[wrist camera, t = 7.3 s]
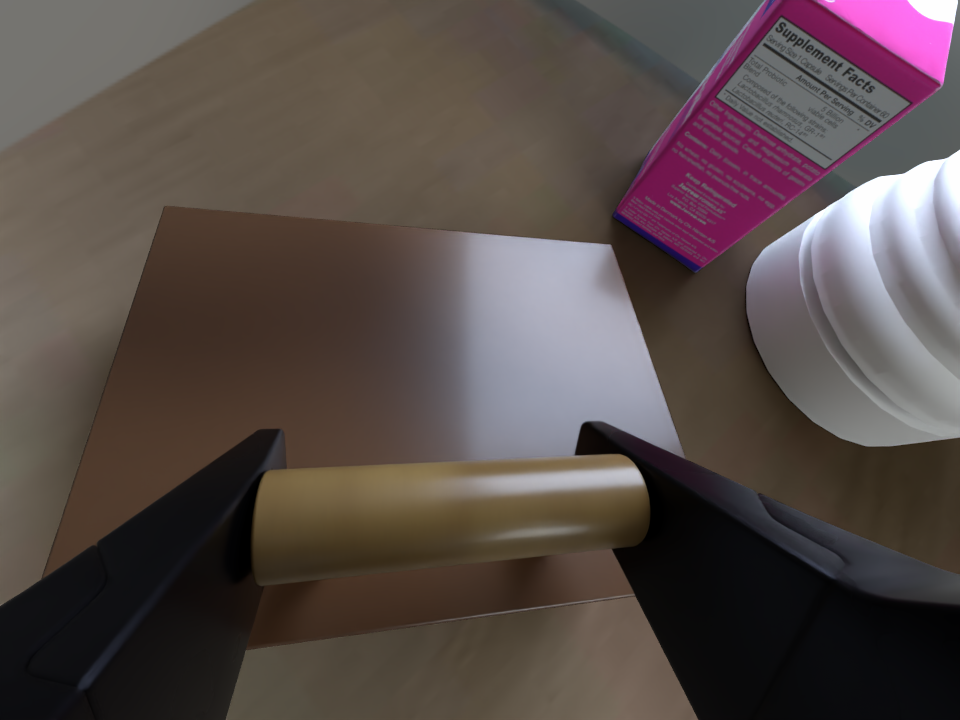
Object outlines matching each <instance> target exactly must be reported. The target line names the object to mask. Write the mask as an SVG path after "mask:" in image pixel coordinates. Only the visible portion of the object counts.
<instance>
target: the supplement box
mask: <svg viewBox="0 0 960 720" xmlns="http://www.w3.org/2000/svg"><path fill="white" fill-rule="evenodd" d="M957 3H958V2H957V0H764V1H763V2H762V3H761V5H760V6H759V8H758V9H757V10H756V11H755V13H754V14H753V15H752V17H751V18H750V19H749V20H748V22H747V23H746V24H745V26H744V27H743V28H742V30H741V31H740V32H739V34H738V35H737V36H736V37H735V39H734V40H733V42H732V43H731V44H730V45H729V47H728V48H727V49H726V50H725V52H724V53H723V54H722V56H721V57H720V58H719V60H718V61H717V62H716V64H715V65H714V67H713V68H712V69H711V71H710V72H709V73H708V75H707V76H706V77H705V78H704V80H703V81H702V82H701V84H700V85H699V86H698V88H697V89H696V90H695V92H694V93H693V94H692V95H691V97H690V98H689V99H688V101H687V102H686V103H685V105H684V106H683V107H682V109H681V110H680V111H679V112H678V114H677V115H676V116H675V118H674V119H673V120H672V122H671V123H670V124H669V126H668V127H667V129H666V130H665V131H664V133H663V134H662V135H661V136H660V138H659V139H658V140H657V142H656V143H655V145H654V146H653V147H652V149H651V150H650V151H649V153H648V154H647V156H646V158H645V160H644V162H643V164H642V166H641V168H640V170H639V172H638V174H637V176H636V177H635V179H634V181H633V182H632V184H631V186H630V187H629V189H628V191H627V192H626V194H625V196H624V197H623V199H622V201H621V202H620V204H619V205H618V207H617V208H616V210H615V211H614V213H613V217H614V218H616V219H617V220H619V221H620V222H622V223H623V224H625V225H626V226H628V227H629V228H631V229H632V230H634V231H635V232H636V233H638V234H639V235H641V236H642V237H644V238H645V239H647V240H648V241H650V242H651V243H653V244H654V245H656V246H657V247H659V248H660V249H662V250H663V251H665V252H666V253H667V254H669V255H670V256H672V257H673V258H675V259H676V260H678V261H679V262H681V263H682V264H683V265H685V266H686V267H687V268H689V269H690V270H692V271H693V272H695V273H697V272H698V271H699V270H701V269H702V268H703V267H704V266H706V265H707V264H708V263H710V262H711V261H712V260H714V259H715V258H716V257H717V256H719V255H720V254H722V253H723V252H724V251H726V250H727V249H728V248H730V247H731V246H732V245H734V244H735V243H736V242H737V241H739V240H740V239H741V238H743V237H744V236H745V235H747V234H748V233H749V232H751V231H752V230H753V229H755V228H756V227H757V226H759V225H760V224H761V223H763V222H764V221H765V220H766V219H768V218H769V217H770V216H772V215H773V214H775V213H776V212H777V211H778V210H780V209H781V208H783V207H784V206H785V205H786V204H788V203H789V202H790V201H792V200H793V199H794V198H796V197H797V196H798V195H800V194H801V193H802V192H804V191H805V190H806V189H807V188H809V187H810V186H812V185H813V184H814V183H816V182H817V181H818V180H820V179H821V178H822V177H824V176H825V175H826V174H828V173H829V172H830V171H832V170H833V169H834V168H836V166H838V165H839V164H841V163H842V162H843V161H845V160H846V159H847V158H849V157H850V156H851V155H853V154H854V153H855V152H857V151H858V150H859V149H861V148H862V147H864V146H865V145H866V144H868V143H869V142H870V141H872V140H873V139H874V138H875V137H877V136H878V135H879V134H881V133H882V132H883V131H885V130H886V129H887V128H889V127H890V126H891V125H893V124H894V123H895V122H896V121H898V120H899V119H901V118H902V117H903V116H904V115H906V114H907V113H909V112H910V111H911V110H913V109H914V108H915V107H917V106H918V105H919V104H921V103H922V102H923V101H925V100H926V99H927V98H928V97H930V96H931V95H932V94H934V93H935V92H936V91H938V90H939V89H940V88H941V87H942V85H943V82H944V76H945V70H946V63H947V58H948V53H949V48H950V42H951V36H952V31H953V25H954V20H955V14H956V8H957Z"/></svg>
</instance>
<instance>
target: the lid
mask: <svg viewBox="0 0 960 720" xmlns="http://www.w3.org/2000/svg"><path fill="white" fill-rule="evenodd" d="M585 421H603V422H605V423H608V424H610V425H612V426H614V427H616V428H618V429H621V430H623V431H625V432H627V433H629V434H632V435H634V436H636V437H638V438H640V439H642V440H645V441H647V442H649V443H651V444H653V445H656V446H658V447H660V448H662V449H664V450H667V451H669V452H671V453H673V454H675V455H677V456H680V457H682V458H684V459H686V456H685V454H684V451H683V448H682V445H681V442H680V439H679V436H678V433H677V431H676V428H675V425H674V422H673V419H672V416H671V413H670V411H669V408H668V405H667V402H666V399H665V396H664V393H663V391H662V388H661V385H660V382H659V379H658V376H657V373H656V370H655V368H654V365H653V362H652V359H651V356H650V353H649V350H648V348H647V345H646V342H645V339H644V336H643V333H642V330H641V327H640V325H639V322H638V319H637V316H636V313H635V310H634V307H633V305H632V302H631V299H630V296H629V293H628V290H627V287H626V285H625V282H624V279H623V276H622V273H621V270H620V267H619V264H618V262H617V259H616V256H615V253H614V250H613V247H612V245H610V244H600V243H588V242H576V241H565V240H553V239H542V238H530V237H519V236H507V235H496V234H484V233H473V232H461V231H450V230H438V229H427V228H415V227H404V226H392V225H381V224H369V223H358V222H346V221H335V220H323V219H312V218H300V217H289V216H277V215H266V214H254V213H243V212H231V211H220V210H208V209H197V208H185V207H174V206H165V207H164V209H163V212H162V215H161V218H160V221H159V224H158V227H157V230H156V233H155V236H154V239H153V242H152V245H151V248H150V251H149V254H148V257H147V260H146V263H145V266H144V269H143V272H142V275H141V279H140V282H139V285H138V288H137V291H136V294H135V297H134V300H133V303H132V306H131V309H130V312H129V315H128V318H127V321H126V324H125V327H124V330H123V333H122V336H121V339H120V342H119V345H118V348H117V351H116V354H115V357H114V360H113V363H112V366H111V369H110V372H109V375H108V378H107V382H106V385H105V388H104V391H103V394H102V397H101V400H100V403H99V406H98V409H97V412H96V415H95V418H94V421H93V424H92V427H91V430H90V433H89V436H88V439H87V442H86V445H85V448H84V451H83V454H82V457H81V460H80V463H79V466H78V469H77V472H76V475H75V478H74V481H73V485H72V488H71V491H70V494H69V497H68V500H67V503H66V506H65V509H64V512H63V515H62V518H61V521H60V524H59V527H58V530H57V533H56V536H55V539H54V542H53V545H52V548H51V551H50V554H49V557H48V560H47V563H46V566H45V569H44V572H43V575H42V578H41V579H43V578H44V577H46V576H47V575H49V574H50V573H52V572H53V571H55V570H56V569H58V568H59V567H61V566H62V565H64V564H65V563H67V562H68V561H70V560H71V559H72V558H74V557H75V556H77V555H78V554H80V553H81V552H83V551H84V550H85V549H87V548H88V547H90V546H92V545H96V543H97V541H99V540H100V539H102V538H103V537H104V536H106V535H107V534H109V533H110V532H112V531H113V530H115V529H116V528H117V527H119V526H120V525H122V524H123V523H125V522H126V521H127V520H129V519H130V518H132V517H133V516H135V515H136V514H138V513H139V512H140V511H142V510H143V509H145V508H146V507H148V506H149V505H151V504H152V503H153V502H155V501H156V500H158V499H159V498H161V497H162V496H164V495H165V494H166V493H168V492H169V491H171V490H172V489H174V488H175V487H176V486H178V485H179V484H181V483H182V482H184V481H185V480H187V479H188V478H189V477H191V476H192V475H194V474H195V473H197V472H198V471H200V470H201V469H202V468H204V467H205V466H207V465H208V464H210V463H211V462H212V461H214V460H215V459H217V458H218V457H220V456H221V455H223V454H224V453H225V452H227V451H228V450H230V449H231V448H233V447H234V446H236V445H237V444H238V443H240V442H241V441H243V440H244V439H246V438H247V437H249V436H250V435H251V434H253V433H254V432H256V431H257V430H259V429H278V428H279V429H282V430H283V432H284V435H285V449H286V463H287V469H276V470H268V471H266V472H265V473H264V475H263V476H262V478H261V481H260V483H259V486H258V489H257V493H256V498H255V502H254V508H253V515H252V523H251V537H250V561H251V570H252V575H253V579H254V582H255V583H256V584H257V585H259V586H264V590H263V593H262V596H261V600H260V603H259V607H258V610H257V614H256V617H255V620H254V624H253V627H252V631H251V634H250V638H249V641H248V644H247V648H246V650H251V649H258V648H266V647H273V646H280V645H287V644H295V643H302V642H309V641H316V640H323V639H331V638H338V637H345V636H352V635H360V634H367V633H374V632H381V631H389V630H396V629H403V628H410V627H417V626H425V625H432V624H439V623H446V622H454V621H461V620H468V619H475V618H482V617H490V616H497V615H504V614H511V613H519V612H526V611H533V610H540V609H547V608H555V607H562V606H569V605H576V604H584V603H591V602H598V601H605V600H612V599H620V598H627V597H634V596H635V594H634V592H633V590H632V588H631V586H630V584H629V582H628V580H627V578H626V576H625V574H624V572H623V570H622V569H621V567H620V565H619V563H618V561H617V559H616V557H615V555H614V553H613V551H612V549H615V548H625V547H633V546H636V545H638V544H639V543H640V542H642V540H643V539H644V538H645V536H646V534H647V532H648V528H649V524H650V500H649V495H648V491H647V487H646V484H645V481H644V479H643V476H642V474H641V473H640V471H639V469H638V468H637V466H636V465H635V464H634V462H632V461H631V460H630V459H629V458H628V457H626V456H624V455H621V454H601V455H580V456H575V449H576V445H577V440H578V436H579V432H580V428H581V425H582V424H583V423H584V422H585ZM686 460H687V459H686ZM96 546H97V545H96Z"/></svg>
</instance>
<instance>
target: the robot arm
mask: <svg viewBox="0 0 960 720" xmlns="http://www.w3.org/2000/svg"><path fill="white" fill-rule="evenodd" d="M601 454H621V455H624V456H626V457H628V458H629V459H630V460H631V461H632V462H634V464H635V465H636V466H637V468H638V469H639V471H640V473H641V474H642V476H643V479H644V481H645V484H646V487H647V491H648V495H649V500H650V524H649V528H648V532H647V534H646V536H645V538H644V539H643V540H642V542H640V543H639V544H638V545H636V546H633V547H625V548H615V549H612V551H613V553H614V555H615V557H616V559H617V561H618V563H619V565H620V567H621V569H622V570H623V572H624V574H625V576H626V578H627V580H628V582H629V584H630V586H631V588H632V590H633V592H634V594H635V596H636V598H637V600H638V602H639V604H640V606H641V608H642V610H643V612H644V614H645V616H646V618H647V620H648V622H649V623H650V625H651V627H652V629H653V631H654V633H655V635H656V637H657V639H658V641H659V643H660V645H661V647H662V649H663V651H664V653H665V655H666V657H667V659H668V661H669V663H670V665H671V667H672V669H673V671H674V673H675V675H676V677H677V678H678V680H679V682H680V684H681V686H682V688H683V690H684V692H685V694H686V696H687V698H688V700H689V702H690V704H691V706H692V708H693V710H694V712H695V714H696V716H697V718H698V720H960V575H959V574H956V573H952V572H949V571H945V570H942V569H940V568H937V567H934V566H931V565H929V564H926V563H924V562H921V561H919V560H916V559H914V558H912V557H909V556H907V555H904V554H902V553H899V552H897V551H894V550H892V549H889V548H887V547H885V546H882V545H880V544H877V543H875V542H872V541H870V540H867V539H865V538H863V537H860V536H858V535H855V534H853V533H850V532H848V531H845V530H843V529H841V528H838V527H836V526H833V525H831V524H829V523H826V522H824V521H822V520H819V519H817V518H814V517H812V516H810V515H807V514H805V513H803V512H801V511H798V510H796V509H794V508H792V507H789V506H787V505H785V504H783V503H780V502H778V501H776V500H774V499H772V498H769V497H767V496H765V495H763V494H761V493H758V494H757V493H756V491H754V490H752V489H750V488H747V487H745V486H743V485H741V484H739V483H736V482H734V481H732V480H730V479H728V478H726V477H723V476H721V475H719V474H717V473H715V472H712V471H710V470H708V469H706V468H704V467H701V466H699V465H697V464H695V463H693V462H691V461H688V460H686V459H684V458H682V457H680V456H677V455H675V454H673V453H671V452H669V451H667V450H664V449H662V448H660V447H658V446H656V445H653V444H651V443H649V442H647V441H645V440H642V439H640V438H638V437H636V436H634V435H632V434H629V433H627V432H625V431H623V430H621V429H618V428H616V427H614V426H612V425H610V424H608V423H605V422H603V421H585V422H584V423H583V424H582V425H581V428H580V432H579V436H578V440H577V445H576V449H575V456H580V455H601ZM276 469H287V463H286V449H285V435H284V432H283V430H282V429H279V428H278V429H259V430H257V431H256V432H254V433H253V434H251V435H250V436H249V437H247V438H246V439H244V440H243V441H241V442H240V443H238V444H237V445H236V446H234V447H233V448H231V449H230V450H228V451H227V452H225V453H224V454H223V455H221V456H220V457H218V458H217V459H215V460H214V461H212V462H211V463H210V464H208V465H207V466H205V467H204V468H202V469H201V470H200V471H198V472H197V473H195V474H194V475H192V476H191V477H189V478H188V479H187V480H185V481H184V482H182V483H181V484H179V485H178V486H176V487H175V488H174V489H172V490H171V491H169V492H168V493H166V494H165V495H164V496H162V497H161V498H159V499H158V500H156V501H155V502H153V503H152V504H151V505H149V506H148V507H146V508H145V509H143V510H142V511H140V512H139V513H138V514H136V515H135V516H133V517H132V518H130V519H129V520H127V521H126V522H125V523H123V524H122V525H120V526H119V527H117V528H116V529H115V530H113V531H112V532H110V533H109V534H107V535H106V536H104V537H103V538H102V539H100V540H99V541H97V543H96V545H97V546H96V545H92V546H90V547H88V548H87V549H85V550H84V551H83V552H81V553H80V554H78V555H77V556H75V557H74V558H72V559H71V560H70V561H68V562H67V563H65V564H64V565H62V566H61V567H59V568H58V569H56V570H55V571H53V572H52V573H50V574H49V575H47V576H46V577H44V578H43V579H41V580H40V581H38V582H37V583H35V584H34V585H32V586H31V587H29V588H28V589H26V590H25V591H23V592H22V593H20V594H19V595H17V596H15V597H14V598H12V599H11V600H9V601H7V602H6V603H4V604H3V605H1V606H0V720H226V716H227V713H228V710H229V706H230V703H231V699H232V696H233V692H234V689H235V686H236V682H237V679H238V675H239V672H240V668H241V665H242V662H243V658H244V655H245V651H246V648H247V644H248V641H249V638H250V634H251V631H252V627H253V624H254V620H255V617H256V614H257V610H258V607H259V603H260V600H261V596H262V593H263V590H264V586H259V585H257V584H256V583H255V582H254V579H253V575H252V570H251V561H250V537H251V523H252V515H253V508H254V502H255V498H256V493H257V489H258V486H259V483H260V481H261V478H262V476H263V475H264V473H265V472H266V471H268V470H276Z"/></svg>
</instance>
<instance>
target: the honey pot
mask: <svg viewBox="0 0 960 720" xmlns="http://www.w3.org/2000/svg"><path fill="white" fill-rule="evenodd" d="M746 312H747V316H748V320H749V324H750V328H751V332H752V336H753V340H754V343H755V345H756V347H757V349H758V351H759V353H760V355H761V357H762V359H763V361H764V364H765V366H766V368H767V370H768V372H769V373H770V374H771V376H772V377H773V378H774V380H775V381H776V382H777V384H778V385H779V387H780V388H781V389H782V391H783V392H784V393H785V395H786V396H787V397H788V399H789V400H790V401H791V402H792V403H794V404H795V405H796V406H797V407H798V408H799V409H800V410H801V411H802V412H803V413H804V414H805V415H806V416H807V417H808V418H810V419H811V420H812V421H813V422H814V423H816V424H817V425H819V426H821V427H822V428H824V429H826V430H827V431H829V432H831V433H832V434H834V435H836V436H837V437H839V438H841V439H844V440H847V441H851V442H854V443H857V444H860V445H863V446H897V445H905V444H913V443H920V442H928V441H936V440H944V439H952V438H960V150H959V151H958V152H956V153H954V154H953V155H951V156H950V157H949V158H946V159H943V160H936V161H928V162H925V163H923V164H921V165H918V166H916V167H915V168H913V169H912V170H910V171H908V172H906V173H905V174H900V175H892V176H883V177H878V178H876V179H874V180H871V181H869V182H867V183H865V184H863V185H861V186H860V187H858V188H856V189H854V190H853V191H851V192H849V193H848V194H846V195H845V196H844V197H843V198H841V199H840V200H838V201H836V202H835V203H833V204H831V205H830V206H828V207H827V208H826V209H824V210H822V211H821V212H819V213H817V214H816V215H814V216H813V217H811V218H810V219H808V220H807V221H805V222H804V223H802V224H801V225H799V226H798V227H796V228H795V229H793V230H791V231H790V232H788V233H787V234H785V235H784V236H782V237H781V238H779V239H778V240H776V241H775V242H773V243H772V244H770V245H769V246H767V247H766V248H764V250H763V251H762V252H761V254H760V255H759V256H758V258H757V259H756V260H755V262H754V263H753V264H752V268H751V271H750V275H749V278H748V282H747V285H746Z"/></svg>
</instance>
